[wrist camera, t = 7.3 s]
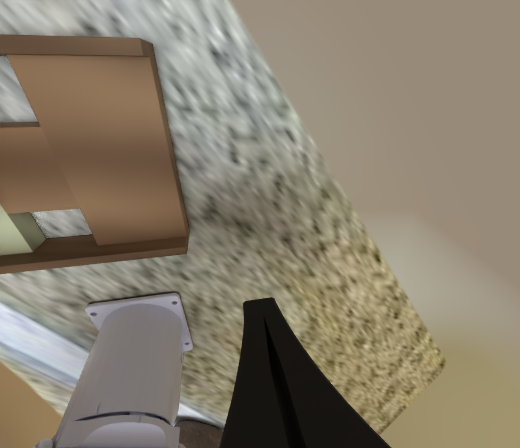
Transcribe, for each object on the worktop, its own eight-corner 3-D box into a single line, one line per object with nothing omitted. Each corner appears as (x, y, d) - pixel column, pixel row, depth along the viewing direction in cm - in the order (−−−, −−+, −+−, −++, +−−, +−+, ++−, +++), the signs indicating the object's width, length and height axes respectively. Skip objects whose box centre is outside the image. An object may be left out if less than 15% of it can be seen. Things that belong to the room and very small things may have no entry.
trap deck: (189, 232, 19) (185, 261, 16) (-30, 253, 16) (-80, 291, 14) (152, 44, 12) (134, 35, 9) (-222, 35, 10) (-400, 21, 7)
